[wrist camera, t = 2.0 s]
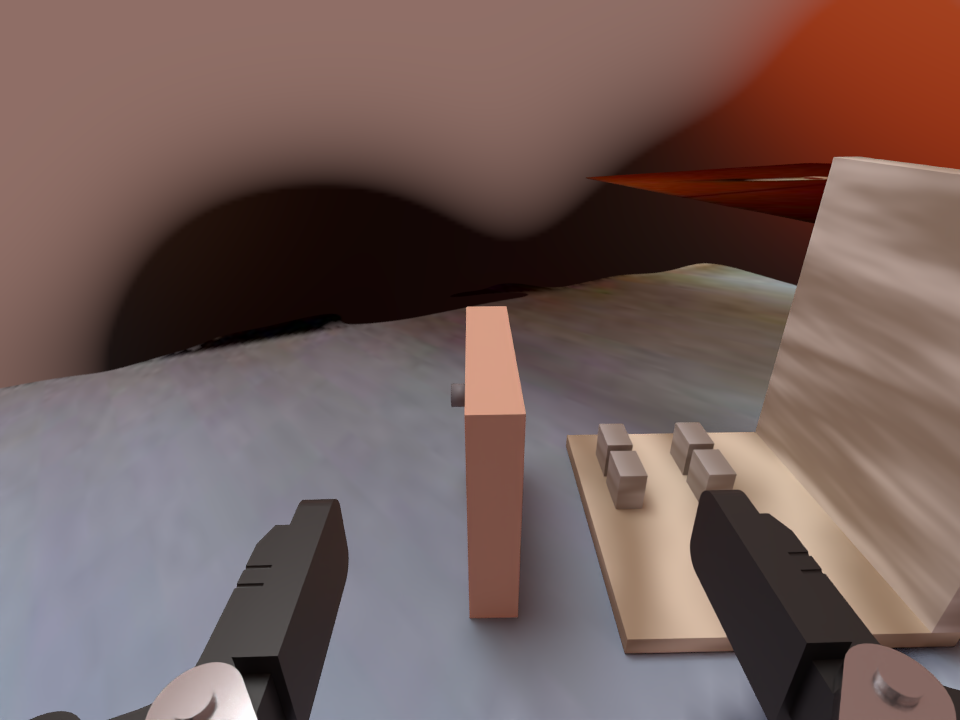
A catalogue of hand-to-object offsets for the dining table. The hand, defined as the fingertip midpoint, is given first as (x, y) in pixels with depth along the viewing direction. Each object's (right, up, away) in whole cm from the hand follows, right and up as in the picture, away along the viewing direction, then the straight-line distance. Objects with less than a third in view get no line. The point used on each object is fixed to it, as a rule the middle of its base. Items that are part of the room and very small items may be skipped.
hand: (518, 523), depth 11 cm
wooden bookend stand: (+13, -6, +19) cm, 24 cm away
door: (0, -7, +19) cm, 20 cm away
